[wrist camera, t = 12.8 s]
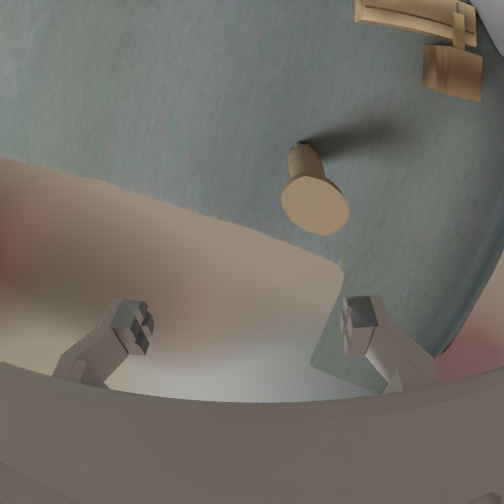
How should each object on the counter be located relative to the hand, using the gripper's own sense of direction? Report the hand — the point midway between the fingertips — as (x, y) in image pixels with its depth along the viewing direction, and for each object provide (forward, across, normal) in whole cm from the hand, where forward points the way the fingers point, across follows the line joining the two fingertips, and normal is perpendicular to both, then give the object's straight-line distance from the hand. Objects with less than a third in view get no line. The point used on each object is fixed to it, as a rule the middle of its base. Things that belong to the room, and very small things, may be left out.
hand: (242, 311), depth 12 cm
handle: (+30, -5, +4) cm, 31 cm away
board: (+30, -20, -17) cm, 40 cm away
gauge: (+30, -24, -11) cm, 40 cm away
